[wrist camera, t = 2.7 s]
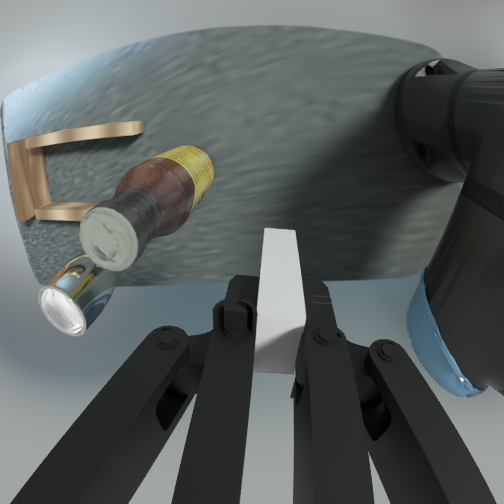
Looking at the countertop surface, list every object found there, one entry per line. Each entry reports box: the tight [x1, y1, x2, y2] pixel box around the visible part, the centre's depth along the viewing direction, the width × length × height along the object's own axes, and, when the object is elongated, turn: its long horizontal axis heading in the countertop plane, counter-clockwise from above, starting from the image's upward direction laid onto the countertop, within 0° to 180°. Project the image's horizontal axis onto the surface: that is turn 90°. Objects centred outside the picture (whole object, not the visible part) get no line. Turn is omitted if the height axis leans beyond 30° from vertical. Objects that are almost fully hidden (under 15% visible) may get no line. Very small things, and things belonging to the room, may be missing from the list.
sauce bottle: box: [79, 146, 214, 271], centre depth 24 cm, size 6×6×20 cm
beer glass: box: [38, 251, 136, 337], centre depth 31 cm, size 7×7×15 cm
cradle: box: [7, 120, 144, 222], centre depth 31 cm, size 22×12×4 cm, turn 87°
